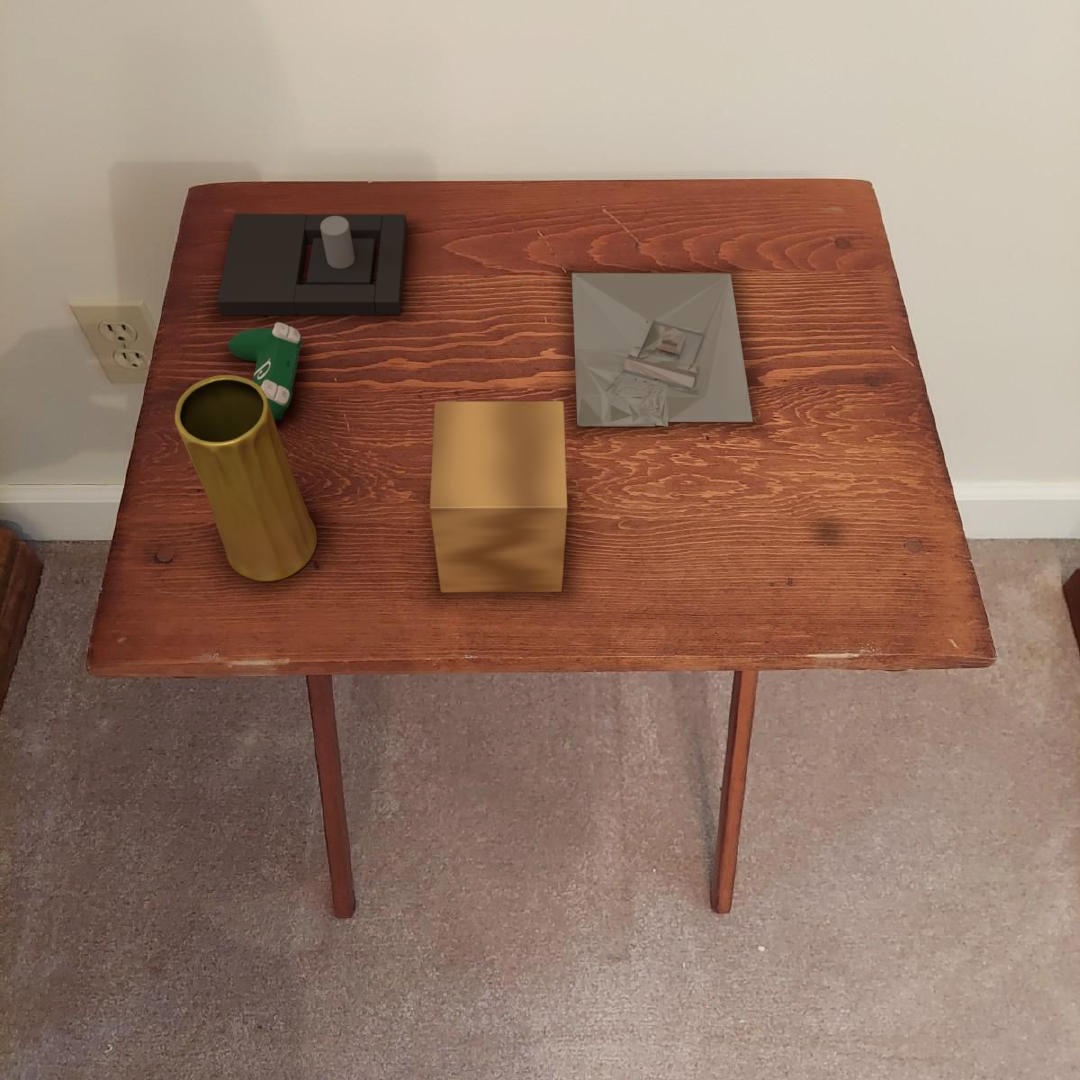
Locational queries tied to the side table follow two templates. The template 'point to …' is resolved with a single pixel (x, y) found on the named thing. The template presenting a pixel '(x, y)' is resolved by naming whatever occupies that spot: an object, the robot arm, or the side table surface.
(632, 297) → the grey flat square slab
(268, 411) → the vase
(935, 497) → the side table surface
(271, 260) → the base pad
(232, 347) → the gaming controller
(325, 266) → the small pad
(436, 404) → the stand
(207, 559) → the side table surface
